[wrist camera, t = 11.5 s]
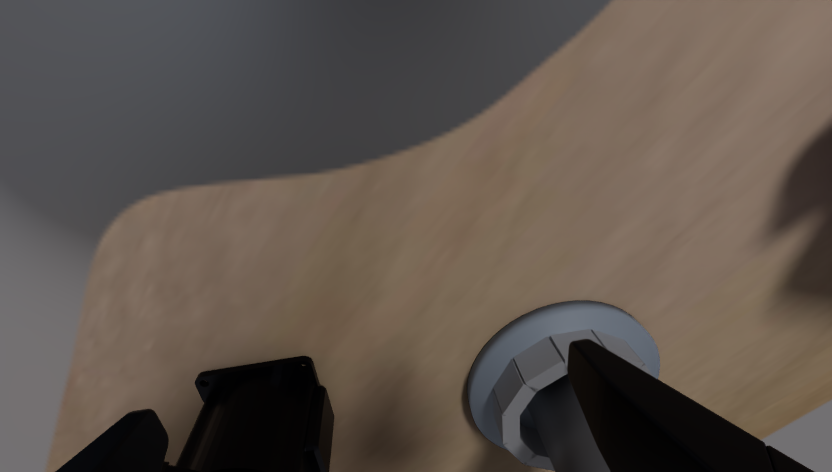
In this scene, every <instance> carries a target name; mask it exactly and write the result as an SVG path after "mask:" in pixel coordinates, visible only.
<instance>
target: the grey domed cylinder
mask: <svg viewBox="0 0 832 472" xmlns="http://www.w3.org/2000/svg"><path fill="white" fill-rule="evenodd" d="M527 408H528V410H529V412H530V415H531V417H532V419H533V422H534V424H535V426H536V429H537V431H538V433H539V435H540V438H541V440H542V442H543V445H544V447H545V449H546V452H547V454H548V456H549V459H550V461H551V463H552V465H553V468H554V470H555V472H610V470H609V468H608V466H607V464H606V462H605V460H604V459H603V457H602V455H601V453H600V451H599V449H598V447H597V445H596V442H595V440H594V438H593V436H592V433H591V431H590V428H589V426H588V424H587V421H586V419H585V416H584V414H583V412H582V409H581V407H580V404H579V402H578V399H577V397H576V395H575V392H574V390H573V387H572V385H571V383H570V380H569V377H568V374H566V375H564V376H562V377H561V378H559V379H557V380H556V381H554V382H552V383H551V384H549V385H547V386H545V387H544V388H542V389H540V390H539V391H537V392H536V394H535V395H534V396H533V398H532V399H531V401H530V402H529V403H528V405H527Z"/></svg>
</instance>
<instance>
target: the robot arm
mask: <svg viewBox="0 0 832 472" xmlns="http://www.w3.org/2000/svg"><path fill="white" fill-rule="evenodd" d="M302 364H305V365H307V366H302ZM567 372H568V377H569V380H570V383H571V385H572V387H573V390H574V392H575V395H576V397H577V399H578V402H579V404H580V407H581V409H582V412H583V414H584V416H585V419H586V421H587V424H588V426H589V428H590V431H591V433H592V436H593V438H594V440H595V442H596V445H597V447H598V449H599V451H600V453H601V455H602V457H603V459H604V460H605V462H606V464H607V466H608V468H609V470H610V472H814V471H812V470H811V469H809V468H807V467H805V466H804V465H802V464H800V463H798V462H796V461H795V460H793V459H792V458H790V457H788V456H786V455H785V454H783V453H781V452H779V451H778V450H776V449H775V448H773V447H771V446H766V445H765V443H764V442H763V441H761V440H759V439H758V438H756V437H754V436H752V435H751V434H749V433H747V432H746V431H744V430H742V429H741V428H739V427H737V426H736V425H734V424H732V423H731V422H729V421H727V420H726V419H724V418H722V417H720V416H719V415H717V414H715V413H714V412H712V411H710V410H709V409H707V408H705V407H704V406H702V405H700V404H699V403H697V402H695V401H694V400H692V399H690V398H688V397H687V396H685V395H683V394H682V393H680V392H678V391H677V390H675V389H673V388H672V387H670V386H668V385H667V384H665V383H663V382H662V381H660V380H658V379H656V378H655V377H653V376H651V375H650V374H648V373H646V372H645V371H643V370H641V369H640V368H638V367H636V366H635V365H633V364H631V363H630V362H628V361H626V360H624V359H623V358H621V357H619V356H618V355H616V354H614V353H613V352H611V351H609V350H608V349H606V348H604V347H603V346H601V345H599V344H598V343H596V342H594V341H592V340H590V339H581V340H575V341H572V342H570V344H569V350H568V365H567ZM204 380H206V381H208V382H206V381H204ZM195 385H196V387H197V390H198V392H199V394H200V396H201V398H202V400H203V402H204V405H203V407H202V409H201V411H200V414H199V416H198V418H197V420H196V422H195V424H194V427H193V429H192V431H191V433H190V435H189V438H188V440H187V442H186V444H185V446H184V448H183V451H182V453H181V455H180V457H179V459H178V462H177V464H176V466H172V465H168V464H169V462H165V461H164V459H165V455H166V452H167V448H168V435H167V432H166V430H165V429H164V427H163V425H162V423H161V421H160V420H159V418H158V416H157V414H156V413H155V411H153V410H152V409H143V410H137V411H132V412H130V413H128V414H126V415H125V416H124V417H123V418H121V419H120V420H119V421H118V422H116V423H115V424H114V425H113V426H111V427H110V428H109V429H108V430H106V431H105V432H104V433H103V434H102V435H100V436H99V437H98V438H97V439H95V440H94V441H93V442H92V443H90V444H89V445H88V446H87V447H85V448H84V449H83V450H82V451H80V452H79V453H78V454H77V455H75V456H74V457H73V458H72V459H71V460H69V461H68V462H67V463H66V464H64V465H63V466H62V467H61V468H59V469H58V470H57V471H56V472H329V467H330V456H331V446H332V435H333V425H334V414H333V411H332V407H331V404H330V400H329V397H328V393H327V390H326V388H325V387H324V386H320V383H319V380H318V377H317V373H316V370H315V367H314V363H313V361H312V359H311V358H310V357H307V356H299V357H293V358H287V359H280V360H274V361H268V362H262V363H255V364H249V365H243V366H236V367H230V368H224V369H218V370H211V371H205V372H201V373H200V374H199V375H198V377H197V378H196V381H195Z"/></svg>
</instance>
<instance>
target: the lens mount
mask: <svg viewBox="0 0 832 472" xmlns="http://www.w3.org/2000/svg"><path fill="white" fill-rule="evenodd" d="M581 339H590V340H592V341H594V342H596V343H598V344H599V345H601V346H603V347H604V348H606V349H608V350H609V351H611V352H613V353H614V354H616V355H618V356H619V357H621V358H623V359H624V360H626V361H628V362H630V363H631V364H633V365H635V366H636V367H638V368H640V369H641V370H643V371H645V372H646V373H648V374H650V375H651V376H653V377H655V378H656V379H658V376H659V370H660V357H659V353H658V349H657V346H656V344H655V342H654V340H653V338H652V337H651V336H650V334H649V333H648V332H647V331H646V330H645V329H644V328H643V326H642V325H641V324H640V323H639V322H638V321H637V320H636V319H634V318H633V317H632V316H631V315H630V314H628V313H627V312H625V311H624V310H622V309H620V308H617V307H615V306H613V305H609V304H606V303H602V302H596V301H567V302H560V303H556V304H551V305H548V306H544V307H541V308H538V309H536V310H533V311H531V312H529V313H527V314H524V315H523V316H521V317H519V318H517V319H515V320H514V321H512V322H511V323H509V324H508V325H506V326H505V327H504V328H502V329H501V330H500V331H499V332H498V333H496V334H495V335H494V336H493V337H492V338H491V339H490V340H489V341H488V343H487V344H486V345H485V346H484V347H483V349H482V350H481V351H480V353H479V354H478V356H477V358H476V360H475V362H474V363H473V365H472V368H471V371H470V374H469V379H468V384H467V394H468V400H469V405H470V408H471V412H472V415H473V418H474V421H475V423H476V425H477V427H478V428H479V430H480V431H481V432H482V433H483V435H484V436H485V437H486V438H488V439H489V440H490V441H491V442H492V443H494V444H496V445H498V446H499V447H501V448H504V449H506V450H509V451H510V452H511V453H512V454H513V455H514V456H515V457H516V458H517V459H518V460H519V461H520V462H521V463H522V464H525V465H528V466H533V467H538V468H543V469H547V470H552V471H555V470H554V468H553V465H552V463H551V461H550V459H549V456H548V454H547V452H546V449H545V447H544V445H543V442H542V440H541V438H540V435H539V433H538V431H537V429H536V426H535V424H534V422H533V419H532V417H531V415H530V412H529V410H528V408H527V405H528V403H529V402H530V401H531V399H532V398H533V396H534V395H535V394H536V392H537V391H539V390H540V389H542V388H544V387H545V386H547V385H549V384H551V383H552V382H554V381H556V380H557V379H559V378H561V377H562V376H564V375H566V374H568V372H567V365H568V350H569V344H570V342H572V341H575V340H581Z"/></svg>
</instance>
